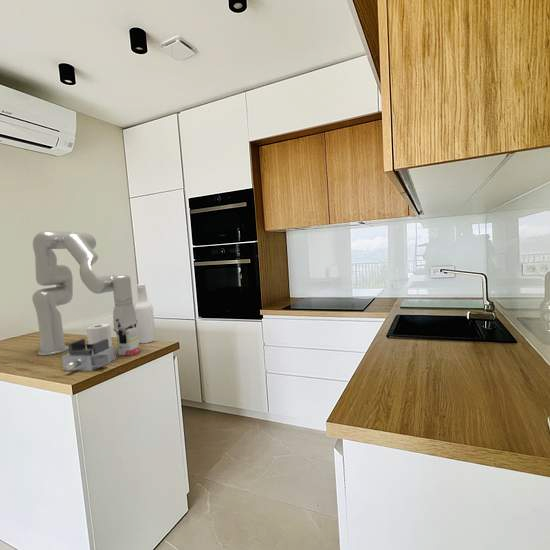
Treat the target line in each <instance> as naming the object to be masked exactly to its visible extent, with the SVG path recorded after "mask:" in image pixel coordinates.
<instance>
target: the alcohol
mask: <svg viewBox="0 0 550 550" xmlns="http://www.w3.org/2000/svg"><path fill="white" fill-rule="evenodd" d="M146 287H147V286H146V283H139V284H137V303H136V304H135V305H134V309H135V314H136V320H137V321H138V323H137V325H136V328H137V334H138V343H139V344H140V343H146V344H150V343H149V342H151V343H153V342H155V341H156V338H157V337H156V327H155V318H154V317H155V316H154V308H153V305H152V303H151V302H150V301H149V300H148V294H147V290H146ZM152 341H153V342H152Z"/></svg>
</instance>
